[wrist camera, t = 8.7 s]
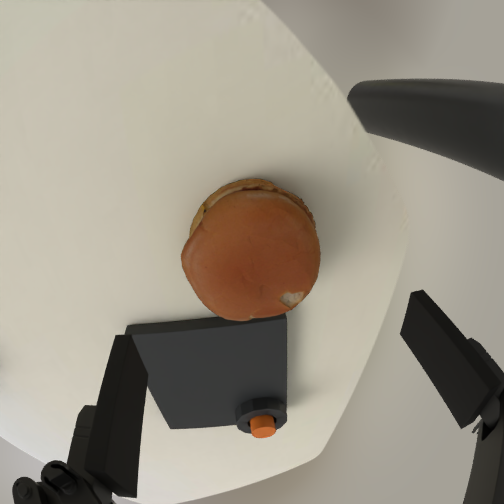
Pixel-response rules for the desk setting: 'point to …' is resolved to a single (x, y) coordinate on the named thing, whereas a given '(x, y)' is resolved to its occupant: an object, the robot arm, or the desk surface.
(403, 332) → the robot arm
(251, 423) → the button
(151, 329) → the scale
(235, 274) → the burger
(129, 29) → the desk surface
